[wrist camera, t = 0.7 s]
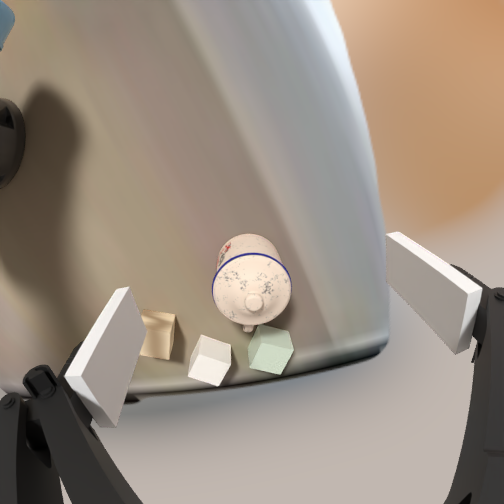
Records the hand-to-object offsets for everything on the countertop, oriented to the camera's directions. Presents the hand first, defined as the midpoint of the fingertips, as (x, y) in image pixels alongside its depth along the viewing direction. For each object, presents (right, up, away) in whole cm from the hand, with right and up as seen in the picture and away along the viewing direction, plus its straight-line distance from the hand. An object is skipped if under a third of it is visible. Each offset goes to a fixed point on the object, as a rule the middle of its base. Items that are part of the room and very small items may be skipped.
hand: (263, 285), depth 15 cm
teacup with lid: (-1, -1, +29) cm, 29 cm away
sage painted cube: (+2, -12, +33) cm, 35 cm away
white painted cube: (-7, -14, +33) cm, 37 cm away
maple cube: (-15, -10, +31) cm, 36 cm away
